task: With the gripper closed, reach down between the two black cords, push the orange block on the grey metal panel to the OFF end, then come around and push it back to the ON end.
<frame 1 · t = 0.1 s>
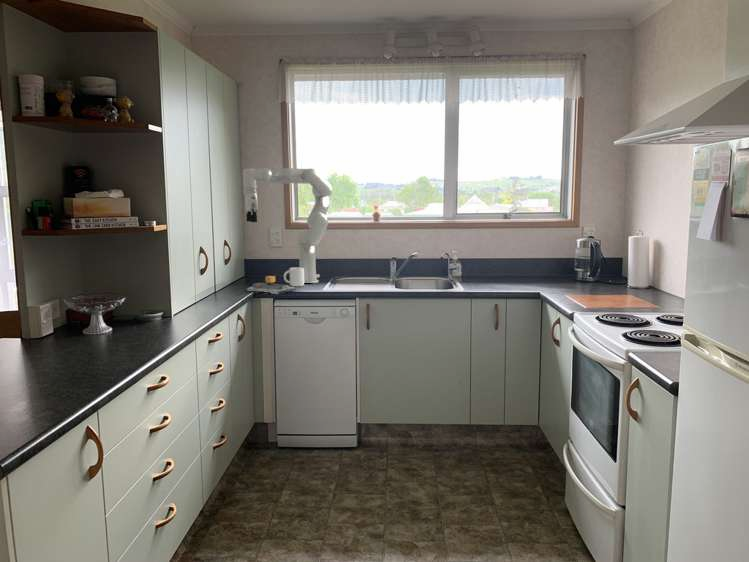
hand: (251, 221, 339), 37 cm above the counter, tool pointing down, fingers open, 9 cm apart
cord a: (287, 292, 325), on the counter
orange block: (270, 281, 329), point 5 cm above the counter, slide at 0.0 cm
cord b: (253, 289, 336), on the counter
mug: (294, 286, 347), on the counter
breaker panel: (270, 291, 330), on the counter
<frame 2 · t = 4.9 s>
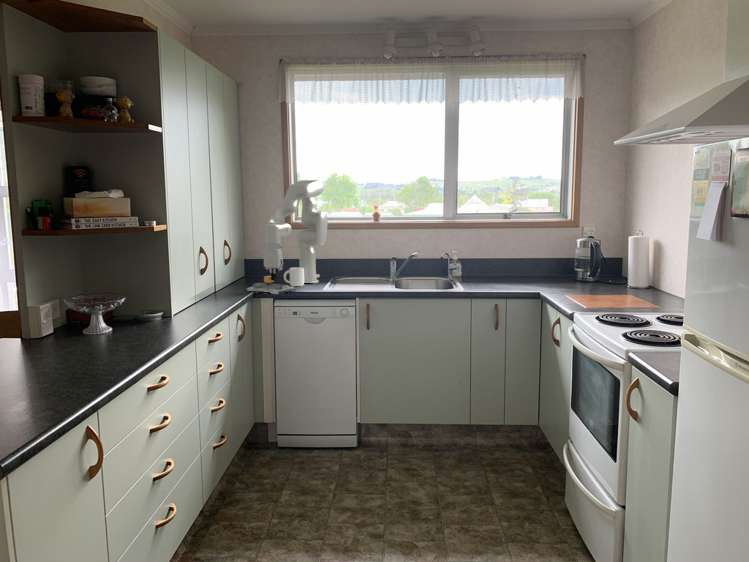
hand: (274, 280, 328), 6 cm above the counter, tool pointing down, fingers closed
orange block: (269, 281, 330), point 5 cm above the counter, slide at -1.0 cm, touching gripper
everything else where it was.
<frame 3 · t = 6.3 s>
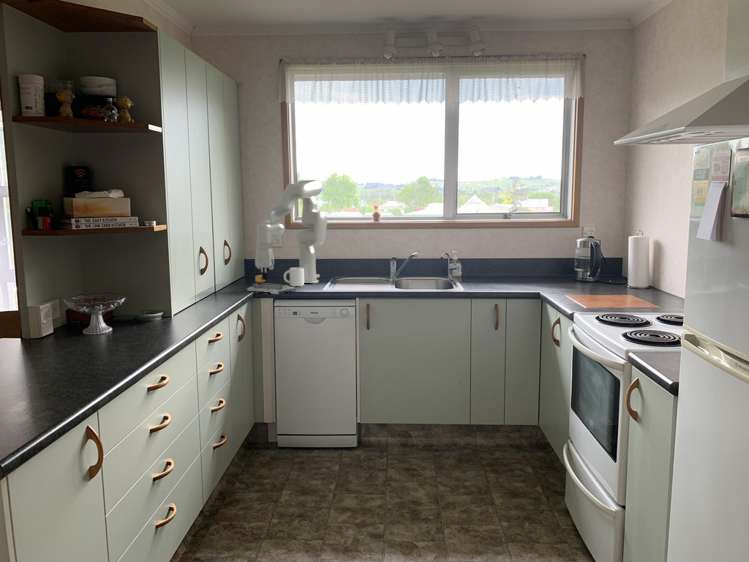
hand: (265, 279, 331), 6 cm above the counter, tool pointing down, fingers closed
orange block: (260, 281, 333), point 5 cm above the counter, slide at -7.0 cm, touching gripper
everything else where it was.
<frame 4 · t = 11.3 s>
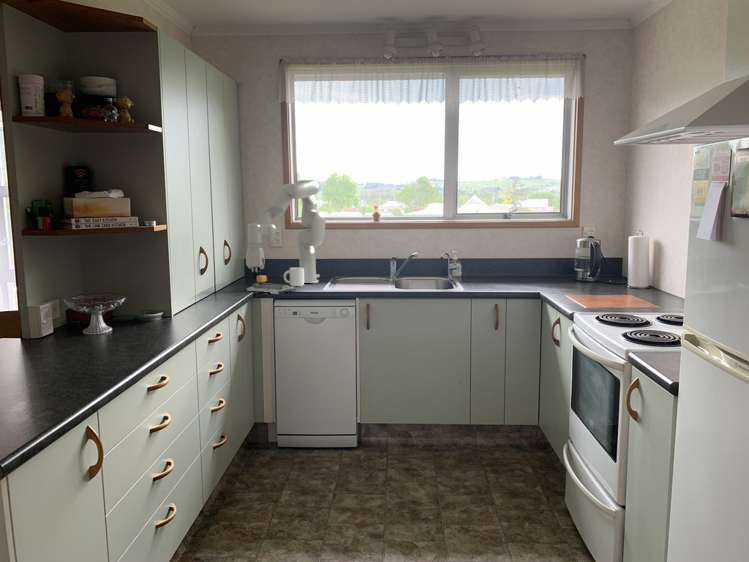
hand: (256, 278, 334), 6 cm above the counter, tool pointing down, fingers closed
orange block: (261, 281, 332), point 5 cm above the counter, slide at -6.1 cm, touching gripper
everything else where it was.
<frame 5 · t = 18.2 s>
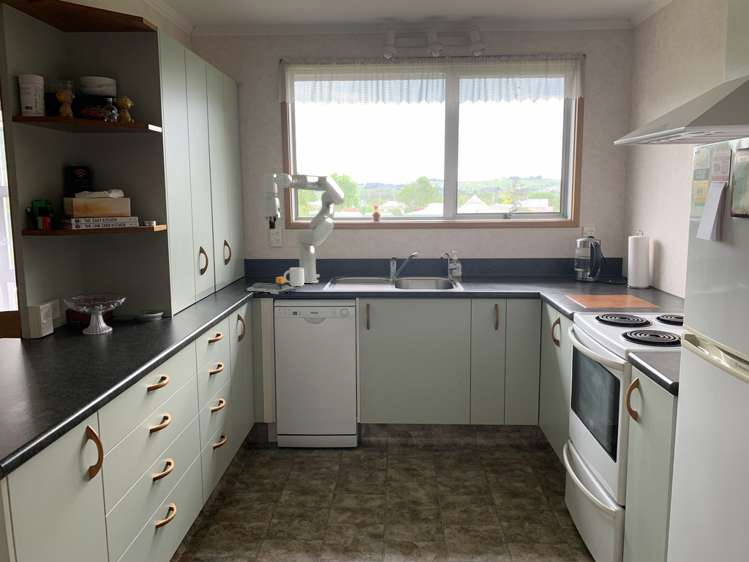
hand: (272, 228, 339), 33 cm above the counter, tool pointing down, fingers closed
orange block: (280, 282, 326), point 5 cm above the counter, slide at 7.0 cm
everything else where it was.
at the end: orange block slide at 7.0 cm; orange block moved 7.0 cm from its start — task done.
